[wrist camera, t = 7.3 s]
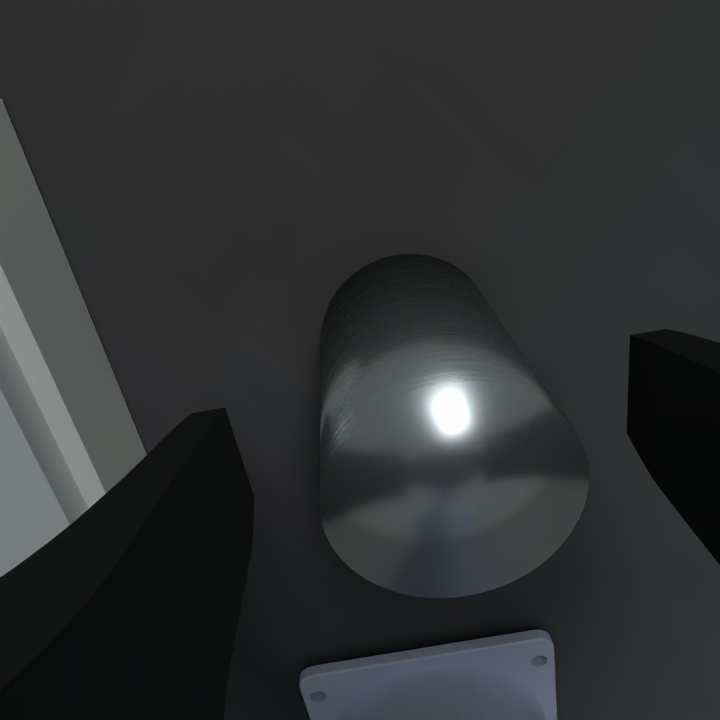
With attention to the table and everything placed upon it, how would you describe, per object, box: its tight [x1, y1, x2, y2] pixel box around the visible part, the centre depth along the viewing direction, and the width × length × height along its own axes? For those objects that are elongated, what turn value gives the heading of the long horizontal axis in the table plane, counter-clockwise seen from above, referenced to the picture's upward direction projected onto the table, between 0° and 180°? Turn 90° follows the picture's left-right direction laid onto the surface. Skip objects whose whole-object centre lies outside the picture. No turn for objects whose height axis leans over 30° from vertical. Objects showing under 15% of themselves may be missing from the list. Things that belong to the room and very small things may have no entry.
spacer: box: [319, 254, 589, 598], centre depth 12 cm, size 4×4×6 cm
